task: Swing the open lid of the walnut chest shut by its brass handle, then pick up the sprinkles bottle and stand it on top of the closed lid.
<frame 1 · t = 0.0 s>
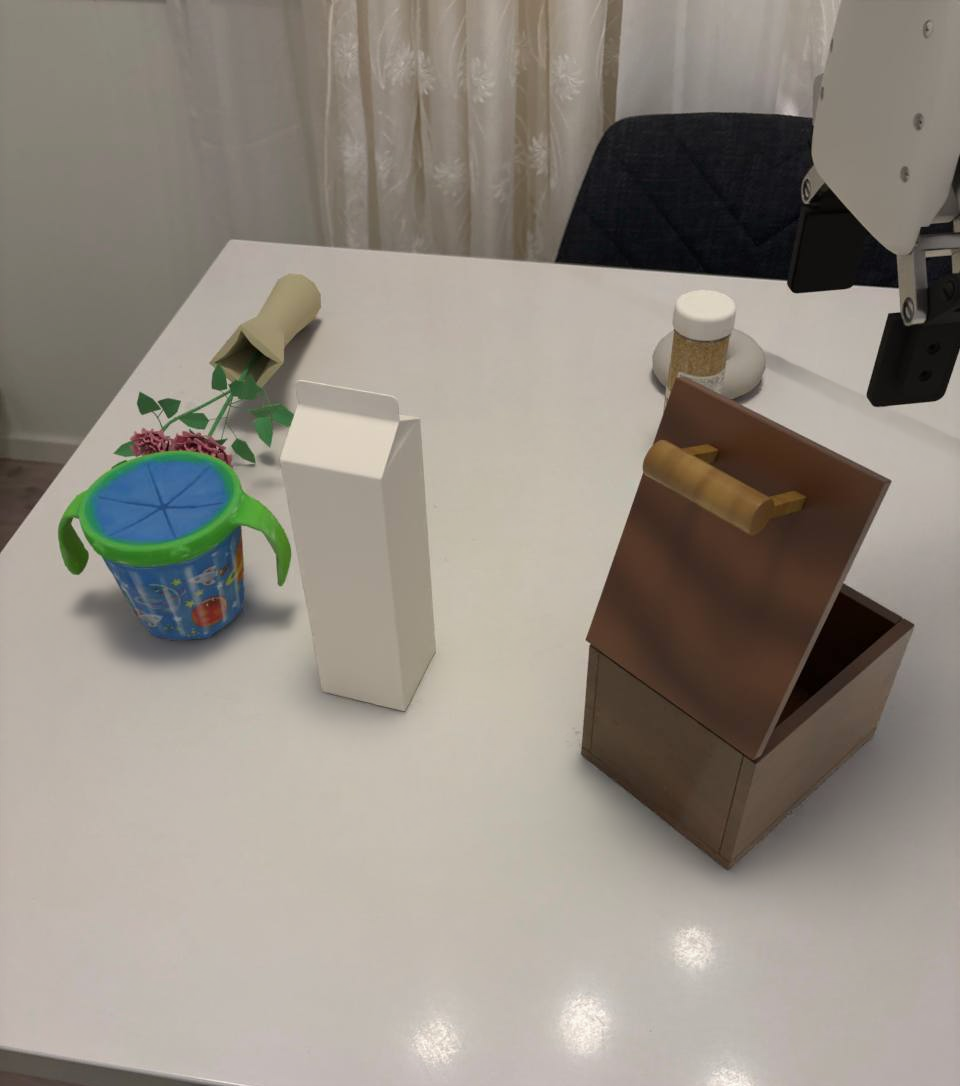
hand: (858, 340, 48), 28 cm above the table, tool pointing down, fingers open, 9 cm apart
donut: (705, 380, 98), on the table
snack cup: (193, 610, 78), on the table
flower vase: (257, 421, 94), on the table
chest: (728, 744, 68), on the table
milk: (380, 672, 73), on the table
lid: (691, 579, 52), point 18 cm above the table, hinge at 70.0°
sprinkles bottle: (684, 454, 90), on the table
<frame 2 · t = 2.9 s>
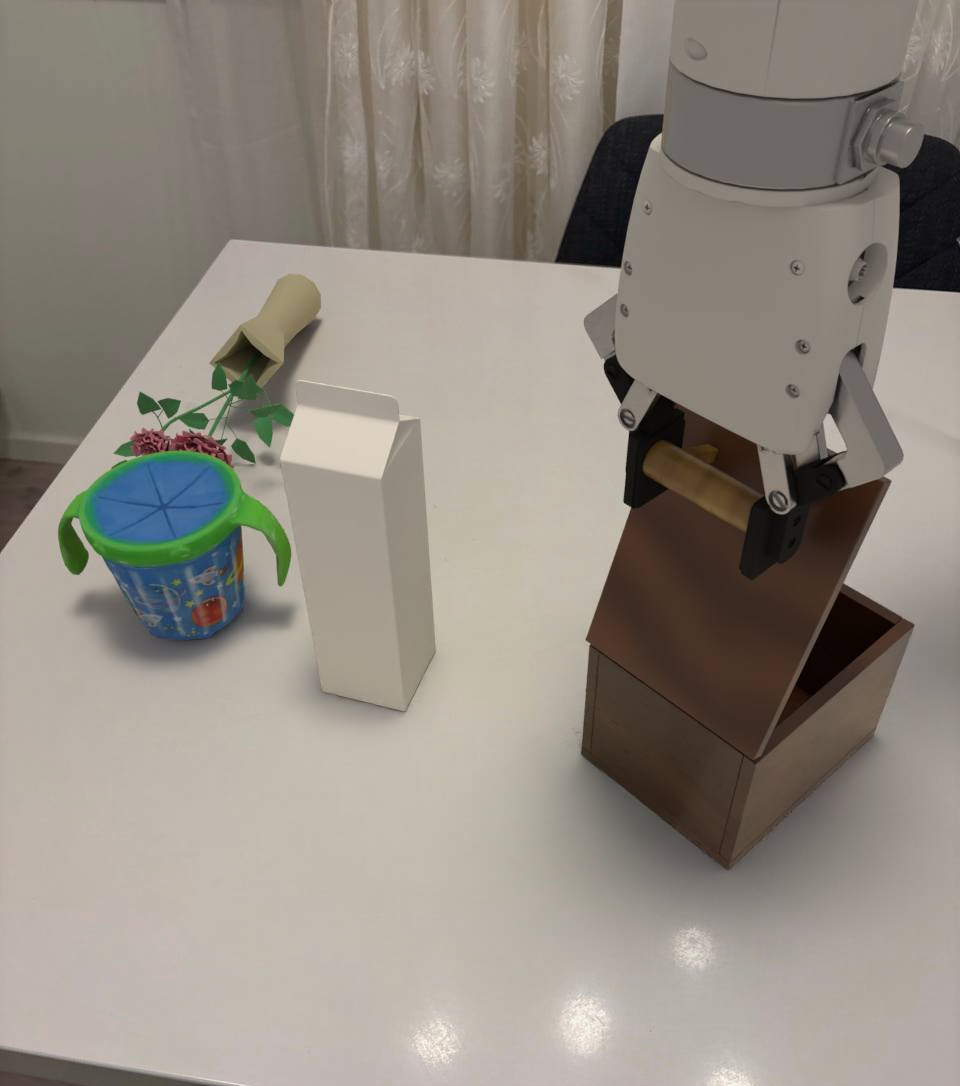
hand: (706, 524, 50), 21 cm above the table, tool pointing down, fingers closed on lid, 6 cm apart
lid: (691, 579, 52), point 18 cm above the table, hinge at 70.0°, touching gripper
everything else where it was.
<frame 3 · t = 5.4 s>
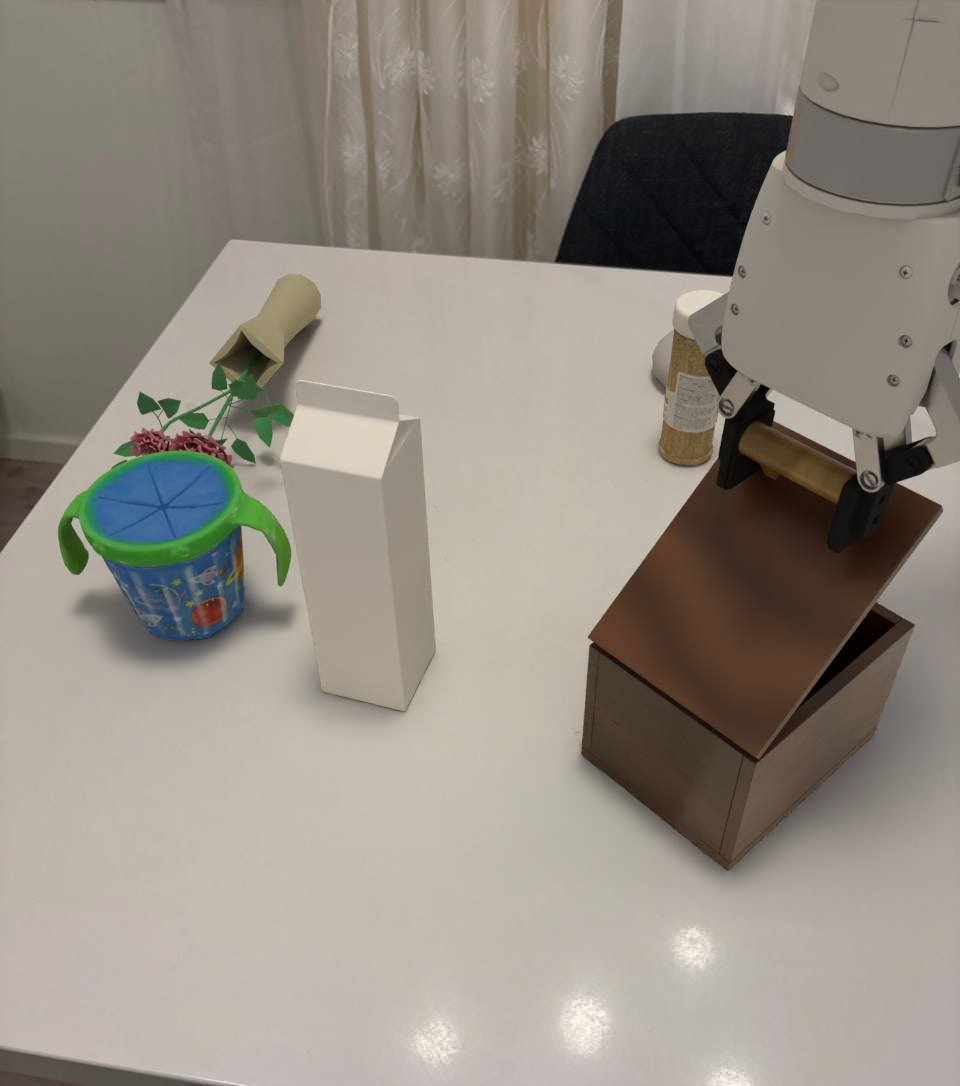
hand: (792, 504, 55), 18 cm above the table, tool pointing down, fingers closed on lid, 6 cm apart
lid: (744, 562, 55), point 17 cm above the table, hinge at 36.1°, touching gripper
everything else where it was.
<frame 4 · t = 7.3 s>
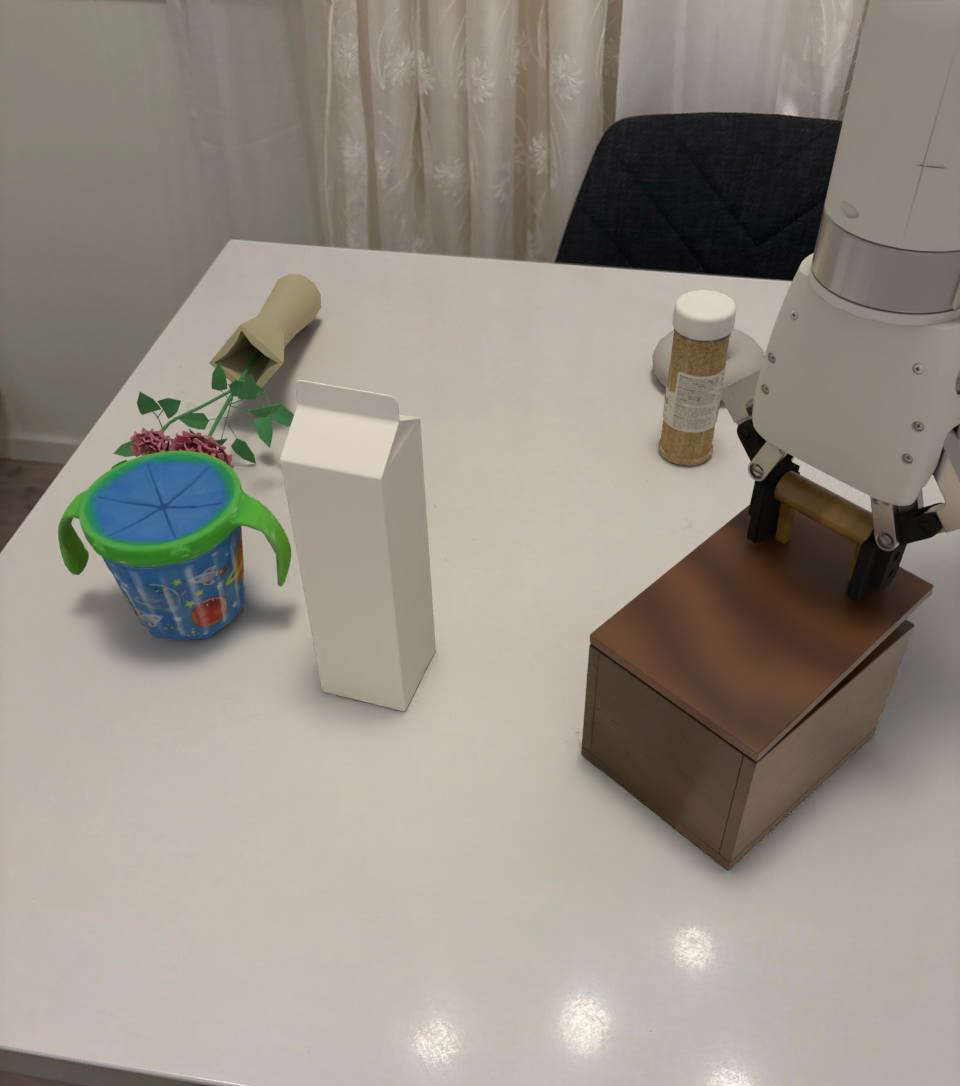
hand: (815, 556, 61), 13 cm above the table, tool pointing down, fingers closed on lid, 6 cm apart
lid: (765, 585, 58), point 14 cm above the table, hinge at 6.5°, touching gripper
everything else where it was.
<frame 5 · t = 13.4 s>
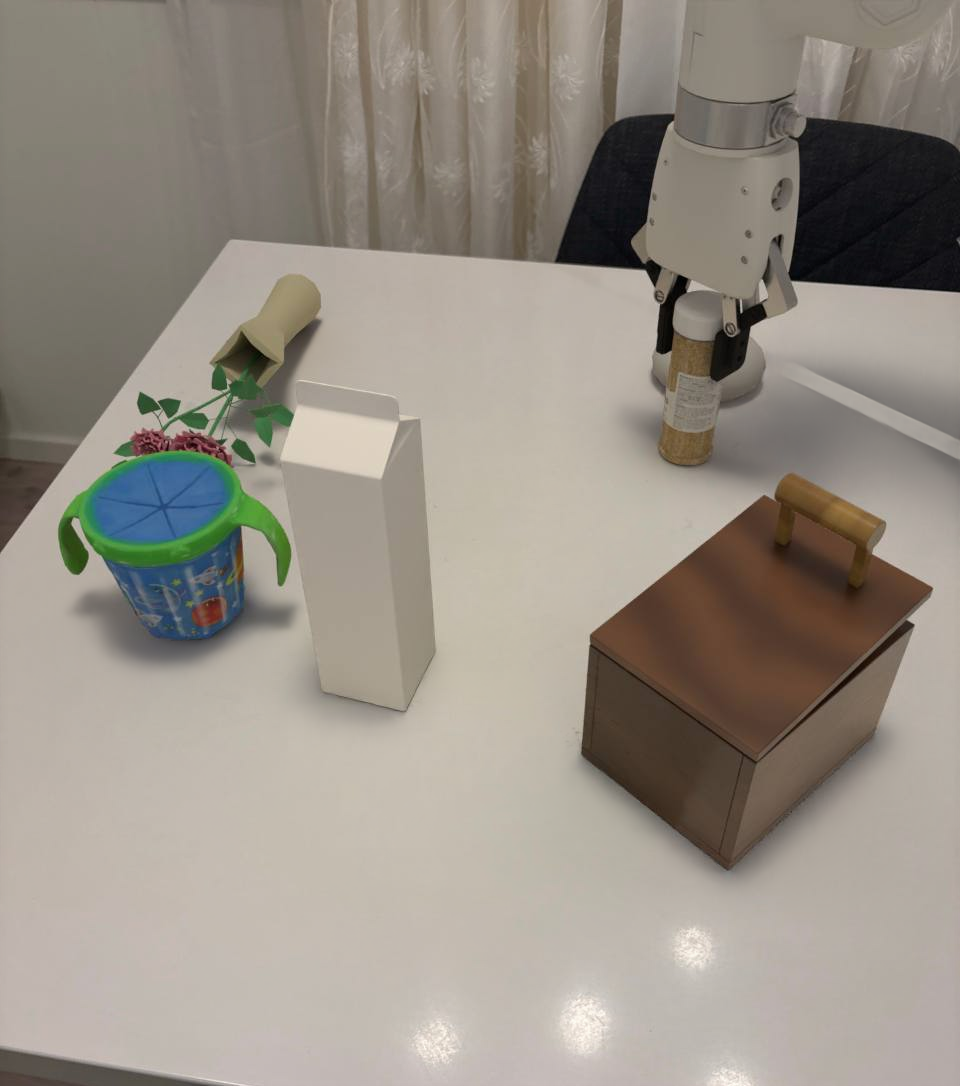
hand: (698, 358, 83), 9 cm above the table, tool pointing down, fingers closed on sprinkles bottle, 4 cm apart
lid: (765, 586, 58), point 13 cm above the table, hinge at 5.8°
sprinkles bottle: (684, 454, 90), on the table, touching gripper
everything else where it was.
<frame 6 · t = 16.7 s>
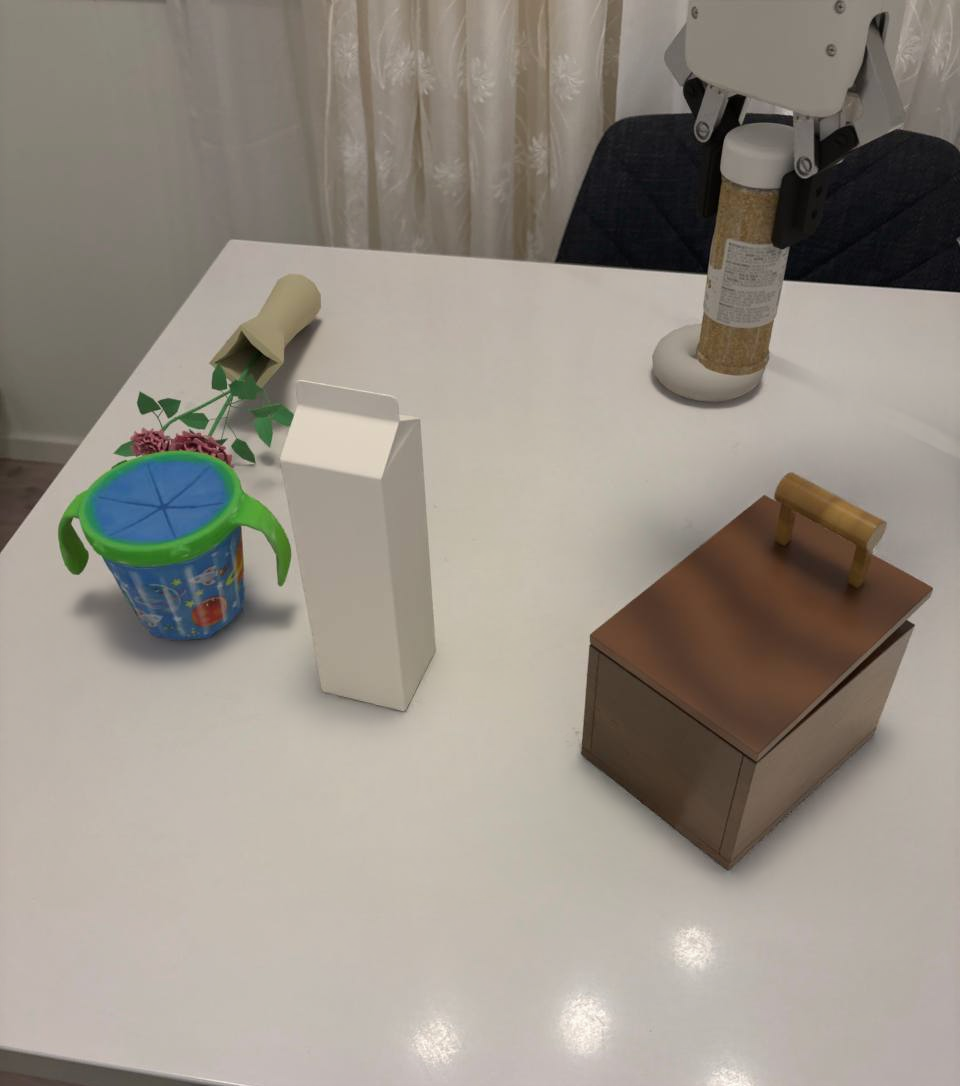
hand: (754, 221, 61), 26 cm above the table, tool pointing down, fingers closed on sprinkles bottle, 4 cm apart
sprinkles bottle: (731, 362, 67), point 17 cm above the table, touching gripper
everything else where it was.
when the fingers open (20 cm above the table, at t = 20.2 s): sprinkles bottle stays where it is, resting on lid.
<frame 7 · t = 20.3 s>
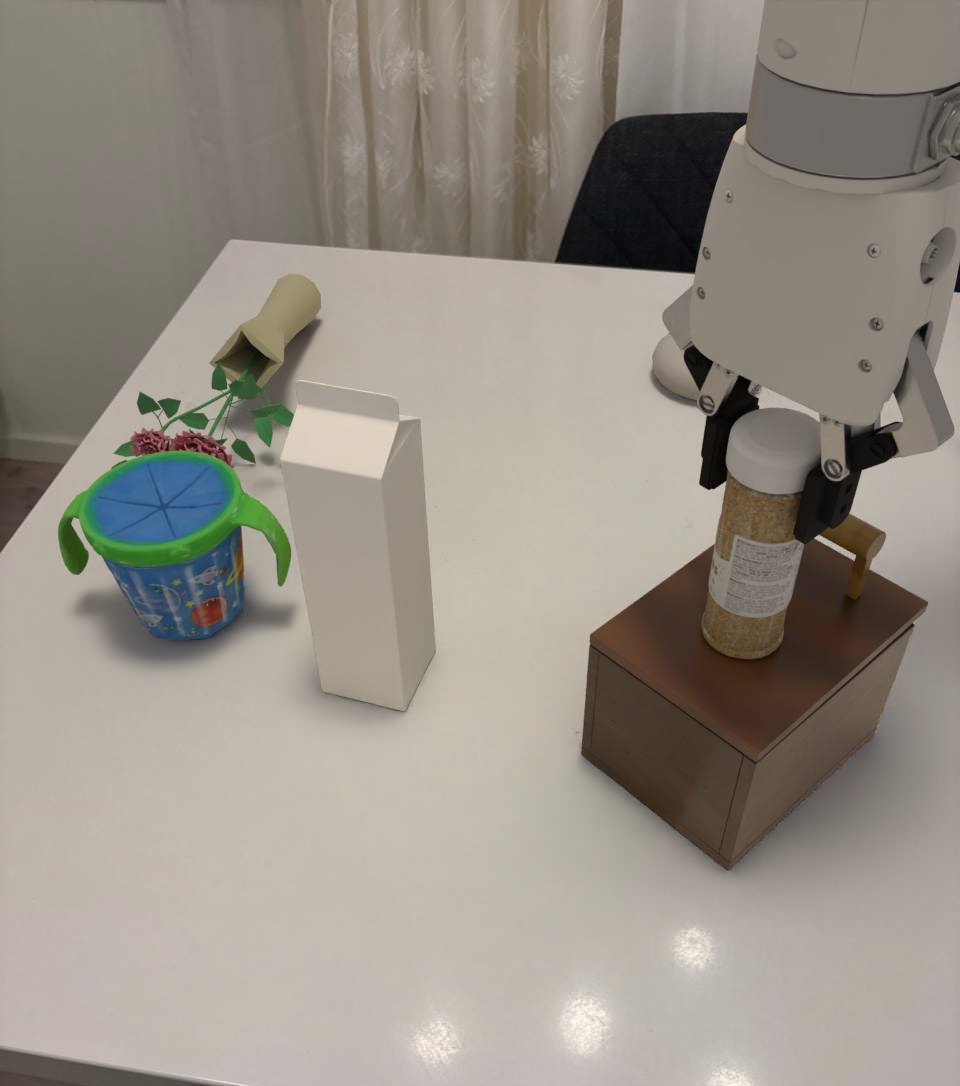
hand: (769, 499, 53), 20 cm above the table, tool pointing down, fingers open, 5 cm apart
lid: (765, 592, 59), point 13 cm above the table, hinge at 1.1°, touching sprinkles bottle
sprinkles bottle: (741, 636, 60), point 11 cm above the table, touching lid
everything else where it was.
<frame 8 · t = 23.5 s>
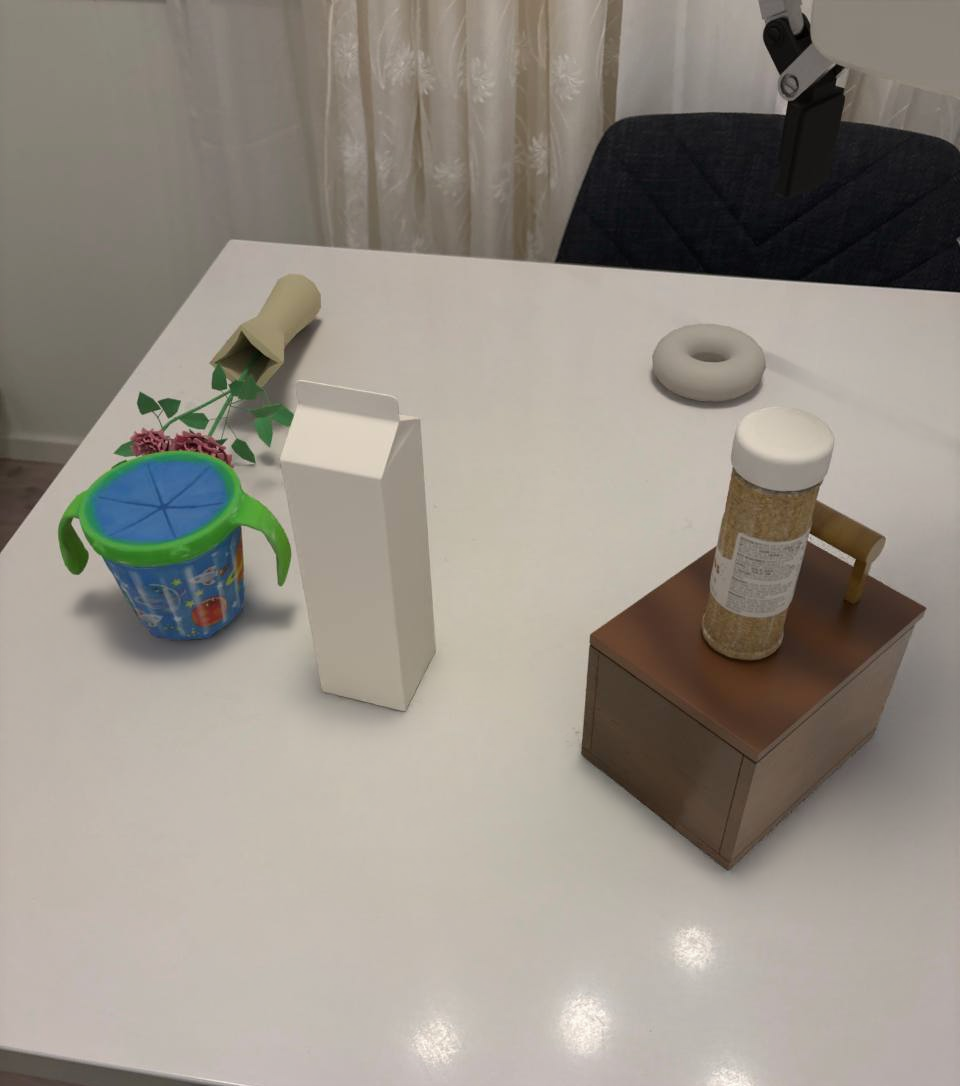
hand: (894, 222, 47), 32 cm above the table, tool pointing down, fingers open, 9 cm apart
lid: (766, 594, 59), point 13 cm above the table, hinge at -0.2°, touching chest, sprinkles bottle
everything else where it was.
at the end: lid at +0° (first picture: +70°); sprinkles bottle inside the target area on the chest (0.3 cm from its centre), point 10.5 cm above the chest's base; sprinkles bottle tilted 1° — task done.
